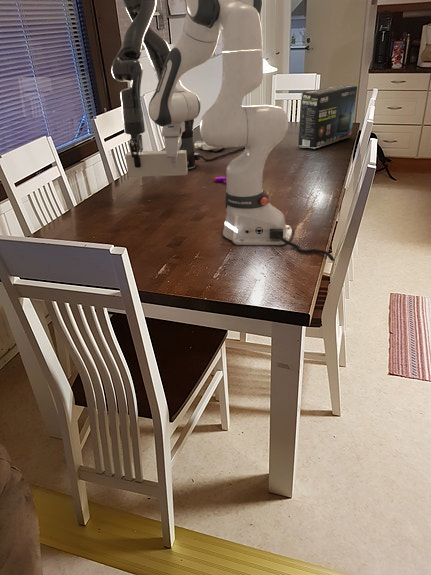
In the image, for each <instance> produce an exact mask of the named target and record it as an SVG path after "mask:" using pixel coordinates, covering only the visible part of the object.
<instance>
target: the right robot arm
mask: <svg viewBox="0 0 431 575" xmlns="http://www.w3.org/2000/svg"><path fill="white" fill-rule="evenodd" d="M262 9H263V0H185V11H186V15H185V17H184V22H183V27H182V31H181V34H180V36H179V38H178V40H177V42H176V43H175V45H174V46H173V48H172V49H170V52H169V54H168V56H167V58H166V61H165V64H164V67H163V70H162V73H161V76H160V79H159V81H157V86H156V88H155V90H154V93H153V95H152V96H151V99H150V100H149V103H148V115H149V118H150V119H151V120H152V122H153V123H154V124H156V125H158V126H159V127H160V129H161V136H162V137H163V141H164V148H165V151H166V154H167V157H168V158H171V162H172V167H173V168H176V167H177V159H176V158H177V156H178V153H179V150H180V147H181V143H182V141H181V136H182V132H184V131H185V122H184V121H188V120H192V119H194V120H195V119H197V118H198V116H200V112H201V100H200V98H199V96H198V94H196V93H195V92H194V91H191V90H189V89H187V88H186V87H185V86H184V85H183V84H182V82H181V80H180V78H181V77H182V76H183V75H184V74H185V73H187V72H188V71H190V70H192V69H194V68H196V67H199V66H200V65H203V64H205V63H206V62H208V61H209V60H210V59H211V58H212V57H213V55H214V53H215V51H216V49H217V45H218V42H219V38H220V34H221V52H222V53H221V57H222V58H221V59H222V74H221V75H222V76H221V84H220V90H219V93H218V95H217V97H216V100H215V101H214V102H213V104H212V105H211V106H210V107H209V109H207V110H206V111H205V112H204V113H203V115H202V116H201V119H200V122H199V134H200V137H201V139H202V141H204V142H205V143H206V144H207V145H208V146H213V147H221V148H222V149H224V148H225V149H226V148H238V147H239V148H242V147H246V148H245V149H243V151H242V153H241V154H240V155H238V156H237V157H234V158H233V159H232V160H231V161H230V162H229V163H228V165H226V169H225V177H226V183H225V184H226V190H225V194H224V205H225V209H226V210H225V218H224V219H225V220H224V226H223V229H222V235H223V237H225V239H228V240H230V241H232V243H233V244H234V245H236V246H283V245H288V246H290V247H293V248H294V249H296V250H297V251H298V252H299V253H302V254H309V253H318V254H324V255H325V256H327V257H328V259H329V260H331V261H332V262H334V261H335V258H334V256H333V255H332V254H331V253H330V252H329V251H328V250H324V249H319V248H307V249H303V248H302V247H301V246H300V245H298V244H296V243H294V242H292V241H290V240H291V239H292V237H293V228H292V227H291V225H288V224H286V219H285V215H284V213H283V212H282V211H280V210H279V209H278V208H277V207H276V206H275V205H272V204H271V203H270V202H269V194H270V192H269V191H267V192H266V191H265V190H263V178H264V169H265V164H266V162H267V159H268V156H269V155H270V154H271V152H272V151H273V149H274V148H275V147H276V146H277V145H278V144H279V143H280V142H282V141H283V140H284V139H285V137H286V136H287V133H288V130H289V118H288V115H287V112H286V111H285V110H284V109H283V108H282V107H281V106H275V105H270V104H263V105H262V104H261V105H260V104H259V105H242V104H243V101H244V98H245V97H246V96H247V95H248V94H250V93H252V92H253V91H255V90H256V89H257V88H259V86H260V85H261V84H262V82H263V78H264V50H263V49H264V46H263V44H264V42H263V32H262V23H261V18H260V16H261V13H262Z"/></svg>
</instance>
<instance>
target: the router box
mask: <svg viewBox="0 0 431 575" xmlns="http://www.w3.org/2000/svg"><path fill="white" fill-rule="evenodd" d="M357 93H358V86H356V85H350V84H339V85H338V84H337V85H334V86H328V87H324V88H318V89H314V90H309V91H304V92H301V93H300V109H299V110H300V111H299V124H298V137H297V146H298V145H302V146H307V147H317V146H320V145H323V144H325V143H328V142H331V141H333V140H336V139H338V138H341V137H344V136H347V135H351V136H352V133H353V132H352V131H353V125H354V115H355V109H356V99H357ZM311 151H313V150H312V149H311Z"/></svg>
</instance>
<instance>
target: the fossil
mask: <svg viewBox="0 0 431 575" xmlns="http://www.w3.org/2000/svg"><path fill="white" fill-rule="evenodd" d="M194 148H195V149H197V150H204V151H213V152H215V153H217V152H219V151H220V150H222V149H223V148H221V147H213V146H208V145H207V144H206V143H205V142H204V141H203V140H197V141H194Z"/></svg>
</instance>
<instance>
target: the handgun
mask: <svg viewBox="0 0 431 575" xmlns="http://www.w3.org/2000/svg"><path fill="white" fill-rule="evenodd" d="M214 182H215V183H216V182H217V183H218V182H219V183H220V182H223V183H224V184H226V176H214Z"/></svg>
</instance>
